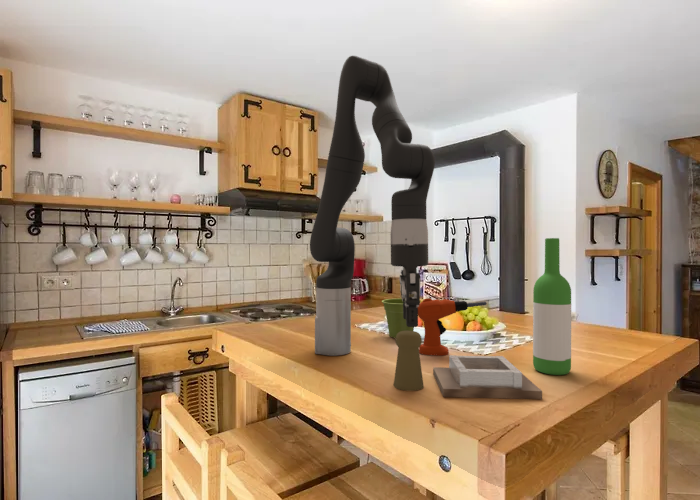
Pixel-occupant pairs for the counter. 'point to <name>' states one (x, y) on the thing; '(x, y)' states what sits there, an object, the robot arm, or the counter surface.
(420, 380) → the olive chess pawn
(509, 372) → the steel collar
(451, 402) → the counter surface
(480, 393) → the socket board
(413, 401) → the counter surface
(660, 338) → the counter surface
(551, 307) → the wine bottle
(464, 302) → the toy drill
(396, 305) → the plant pot
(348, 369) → the counter surface
